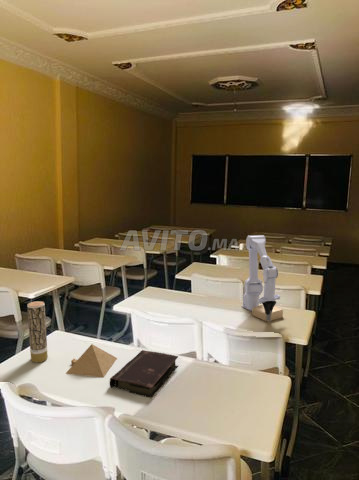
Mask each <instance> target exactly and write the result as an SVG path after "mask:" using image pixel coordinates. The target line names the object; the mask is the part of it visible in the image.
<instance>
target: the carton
mask: <svg viewBox="0 0 359 480" xmlns="http://www.w3.org/2000/svg"><path fill="white" fill-rule="evenodd" d="M253 308H254V309H257V310H259V311H261V312H264V313H265V309H264V306H263V304H260V305H259V306H257V307H253ZM283 314H284V309H283V308H280V307H278V306H276V305H275V306H274V307H273V310H272V313H271V321H274V320H278V319H281V318H283V317H284V315H283ZM266 322H269V321H268V320H267V321H266Z"/></svg>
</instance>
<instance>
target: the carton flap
mask: <svg viewBox="0 0 359 480" xmlns="http://www.w3.org/2000/svg"><path fill="white" fill-rule="evenodd" d="M251 313H252V316H253V317H255V318H258V319H260V320H263V321H265V322H271V321H272V320H271V310H270V312H269V315H267V314H265V313H264V312H261V311H259V310H257V309H254V308H253V309H252V311H251ZM267 320H268V321H267Z"/></svg>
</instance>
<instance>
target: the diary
mask: <svg viewBox="0 0 359 480" xmlns="http://www.w3.org/2000/svg"><path fill="white" fill-rule="evenodd" d="M178 358H179V355H173V354H169V353H164V352H159V351H158V352H157V351H150V350H143V349H142V350H140V351H139V352H138V353H137V355H135V356H134V357H133V358H131V360H129V361H128V362H127V363H125V365H124V366H122V367H121V369H120V370H119V371H117V372H116V373H115V374H114V375H112V376H111V377H110V378H109V388H110V389H112V388H113V387H114V386H115V390H117V388H118V389H120V390H125V391H128V393H130V394H134V395H138V396H142V397H145V396H146V398H152V397H154V396H155V394H156V393H158V391H159V390H161V388H162V386H163V385H164V384H165V382H166V381H168V380H169V378H170V377H171V375H172V373H173V372H175V371H176V370H177V369H178V367H179V365H176V360H177V359H178Z"/></svg>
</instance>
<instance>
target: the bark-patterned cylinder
mask: <svg viewBox="0 0 359 480" xmlns="http://www.w3.org/2000/svg"><path fill="white" fill-rule="evenodd" d="M26 308H27V321H28V322H27V323H28V334H29V337H28V338H29V352H30V360H31V362H33V363H42V362H45V361H46V360H47V359H48V339H47V323H46V322H47V321H46V319H47V318H46V306H45V301H41V300H40V301H38V300H37V301H30V302H28V303H27V307H26Z"/></svg>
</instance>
